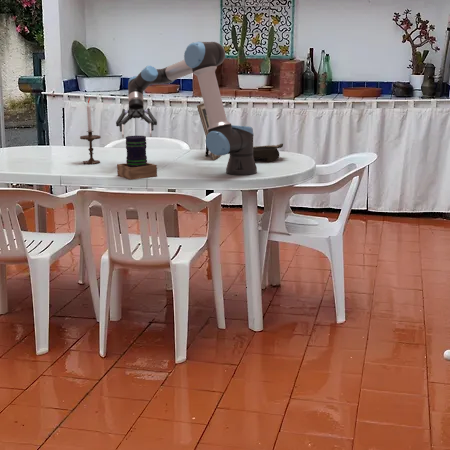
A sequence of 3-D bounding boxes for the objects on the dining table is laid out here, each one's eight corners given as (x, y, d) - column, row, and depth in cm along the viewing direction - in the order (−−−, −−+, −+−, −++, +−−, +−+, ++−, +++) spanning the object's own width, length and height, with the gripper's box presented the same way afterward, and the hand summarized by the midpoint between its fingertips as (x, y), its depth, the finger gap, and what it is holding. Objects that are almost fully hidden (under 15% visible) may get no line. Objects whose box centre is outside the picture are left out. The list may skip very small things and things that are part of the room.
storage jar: (123, 169, 357) (122, 137, 353) (130, 165, 366) (129, 135, 363) (143, 169, 355) (142, 138, 351) (150, 166, 364) (149, 135, 360)
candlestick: (102, 161, 408) (98, 96, 400) (101, 164, 397) (98, 97, 389) (81, 161, 406) (78, 96, 398) (81, 165, 396) (77, 98, 388)
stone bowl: (286, 162, 395) (285, 145, 393) (239, 166, 396) (238, 149, 393) (283, 155, 419) (281, 138, 417) (238, 159, 420) (237, 142, 417)
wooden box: (157, 176, 360) (156, 165, 358) (131, 179, 352) (130, 168, 351) (142, 172, 371) (142, 161, 369) (117, 175, 363) (117, 164, 362)
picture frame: (214, 160, 406) (214, 105, 399) (197, 160, 408) (195, 104, 400) (226, 152, 437) (226, 100, 430) (210, 151, 439) (209, 100, 432)
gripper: (160, 107, 383) (162, 139, 372) (111, 108, 381) (112, 141, 370) (160, 97, 377) (162, 129, 366) (110, 98, 375) (110, 131, 364)
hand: (136, 135), depth 368 cm, fingers open, 13 cm apart
